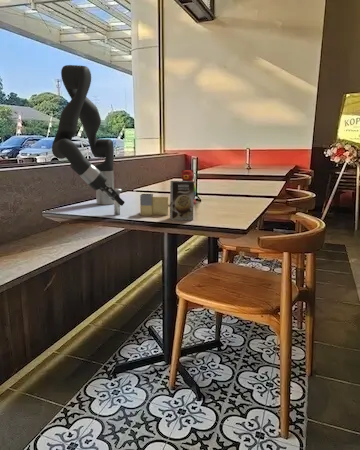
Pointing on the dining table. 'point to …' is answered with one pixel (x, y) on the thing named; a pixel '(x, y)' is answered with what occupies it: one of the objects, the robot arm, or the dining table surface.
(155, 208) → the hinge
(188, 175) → the stacking bear
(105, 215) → the dining table surface
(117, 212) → the pin
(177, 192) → the coffee box
